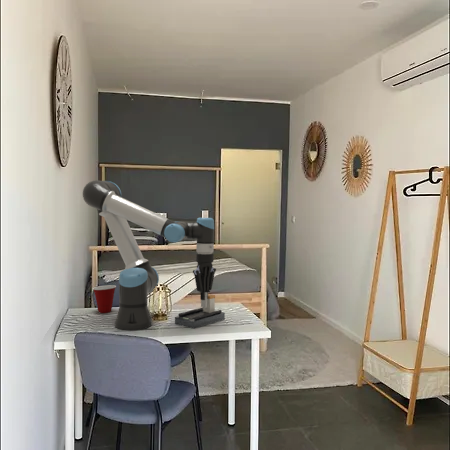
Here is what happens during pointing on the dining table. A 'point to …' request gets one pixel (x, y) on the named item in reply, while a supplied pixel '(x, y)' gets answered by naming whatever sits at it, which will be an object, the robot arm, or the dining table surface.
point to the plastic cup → (104, 297)
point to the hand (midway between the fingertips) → (204, 307)
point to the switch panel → (198, 318)
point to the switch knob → (210, 304)
